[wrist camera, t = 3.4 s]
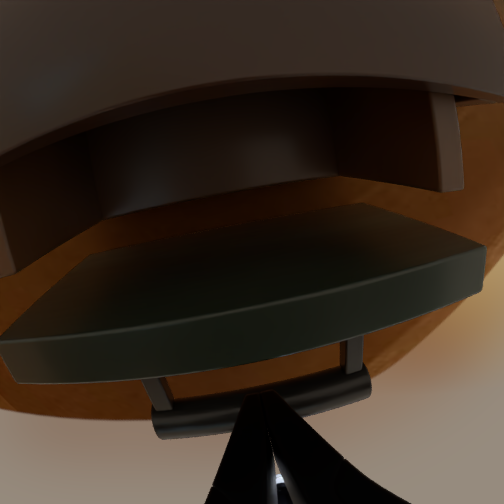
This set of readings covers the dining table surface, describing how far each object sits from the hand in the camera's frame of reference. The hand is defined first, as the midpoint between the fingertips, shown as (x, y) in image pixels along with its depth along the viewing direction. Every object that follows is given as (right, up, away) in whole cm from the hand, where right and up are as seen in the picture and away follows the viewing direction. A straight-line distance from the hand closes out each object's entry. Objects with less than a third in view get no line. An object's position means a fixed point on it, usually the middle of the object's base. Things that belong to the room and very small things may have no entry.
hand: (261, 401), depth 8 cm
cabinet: (-3, +15, +1) cm, 16 cm away
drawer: (-2, +8, +2) cm, 9 cm away
